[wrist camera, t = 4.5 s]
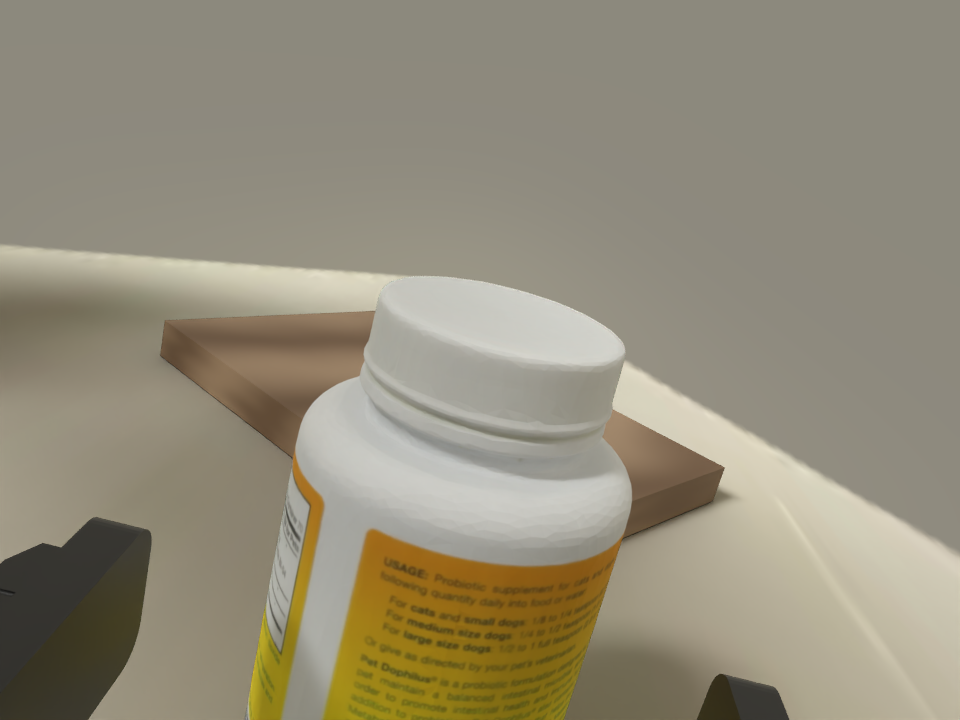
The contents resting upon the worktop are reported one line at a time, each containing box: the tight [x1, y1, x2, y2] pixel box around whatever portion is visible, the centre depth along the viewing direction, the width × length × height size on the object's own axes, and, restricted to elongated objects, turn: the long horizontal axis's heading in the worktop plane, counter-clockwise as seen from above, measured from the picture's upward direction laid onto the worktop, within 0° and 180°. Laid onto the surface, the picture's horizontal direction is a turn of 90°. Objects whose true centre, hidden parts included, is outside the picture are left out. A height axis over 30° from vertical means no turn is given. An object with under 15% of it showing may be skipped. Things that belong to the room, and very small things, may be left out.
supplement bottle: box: [245, 276, 632, 720], centre depth 15 cm, size 6×6×10 cm
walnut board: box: [160, 311, 725, 538], centre depth 35 cm, size 18×14×2 cm
